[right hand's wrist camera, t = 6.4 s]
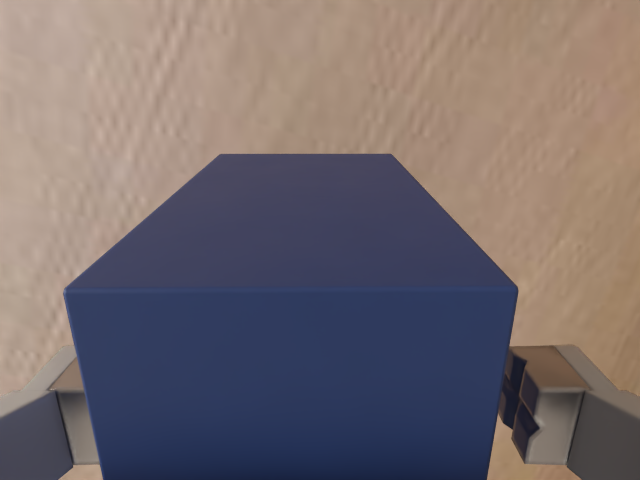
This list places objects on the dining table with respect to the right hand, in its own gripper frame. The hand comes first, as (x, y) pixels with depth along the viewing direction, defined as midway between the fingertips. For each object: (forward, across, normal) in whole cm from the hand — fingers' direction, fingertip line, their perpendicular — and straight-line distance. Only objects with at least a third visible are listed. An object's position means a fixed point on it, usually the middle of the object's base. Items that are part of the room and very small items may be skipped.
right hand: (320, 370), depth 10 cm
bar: (+5, 0, -8) cm, 9 cm away
